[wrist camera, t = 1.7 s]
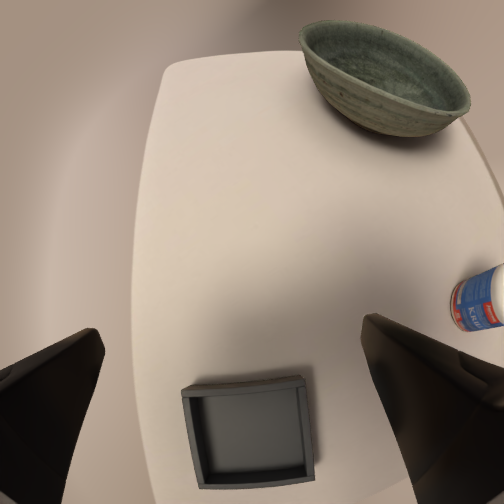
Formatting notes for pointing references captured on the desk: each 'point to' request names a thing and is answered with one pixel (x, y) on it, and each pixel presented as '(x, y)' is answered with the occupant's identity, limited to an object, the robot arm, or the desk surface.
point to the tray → (249, 433)
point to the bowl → (382, 78)
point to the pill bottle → (480, 301)
